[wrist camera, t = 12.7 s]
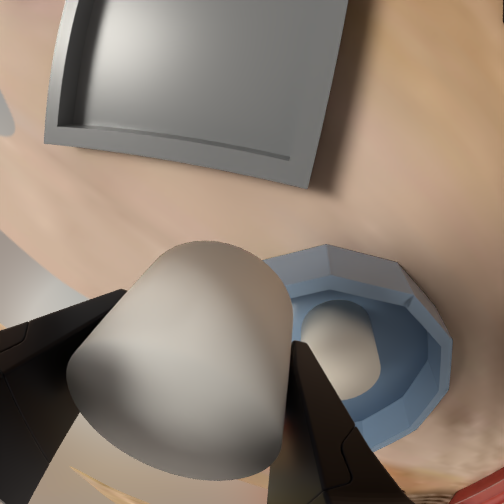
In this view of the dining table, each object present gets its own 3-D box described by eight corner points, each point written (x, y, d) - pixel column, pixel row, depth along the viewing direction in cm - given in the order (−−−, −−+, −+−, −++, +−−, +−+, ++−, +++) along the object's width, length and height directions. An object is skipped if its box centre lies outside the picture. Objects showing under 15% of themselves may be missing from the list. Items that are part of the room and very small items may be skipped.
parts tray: (356, -67, 11) (361, -84, 9) (307, 180, 18) (307, 189, 16) (109, -69, 12) (94, -80, 10) (63, 139, 19) (43, 143, 17)
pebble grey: (314, 266, 9) (318, 389, 5) (270, 384, 11) (251, 494, 7) (148, 221, 9) (50, 302, 5) (140, 345, 11) (83, 438, 7)
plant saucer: (541, 436, 26) (547, 452, 23) (542, 465, 30) (546, 477, 27) (442, 492, 33) (445, 508, 30) (463, 508, 37) (466, 521, 34)
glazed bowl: (473, 282, 19) (497, 314, 15) (376, 435, 27) (379, 468, 23) (220, 218, 20) (201, 243, 16) (195, 402, 28) (183, 434, 24)
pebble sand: (380, 306, 20) (393, 350, 16) (356, 359, 22) (362, 404, 18) (311, 293, 20) (311, 336, 16) (294, 348, 22) (290, 394, 18)
